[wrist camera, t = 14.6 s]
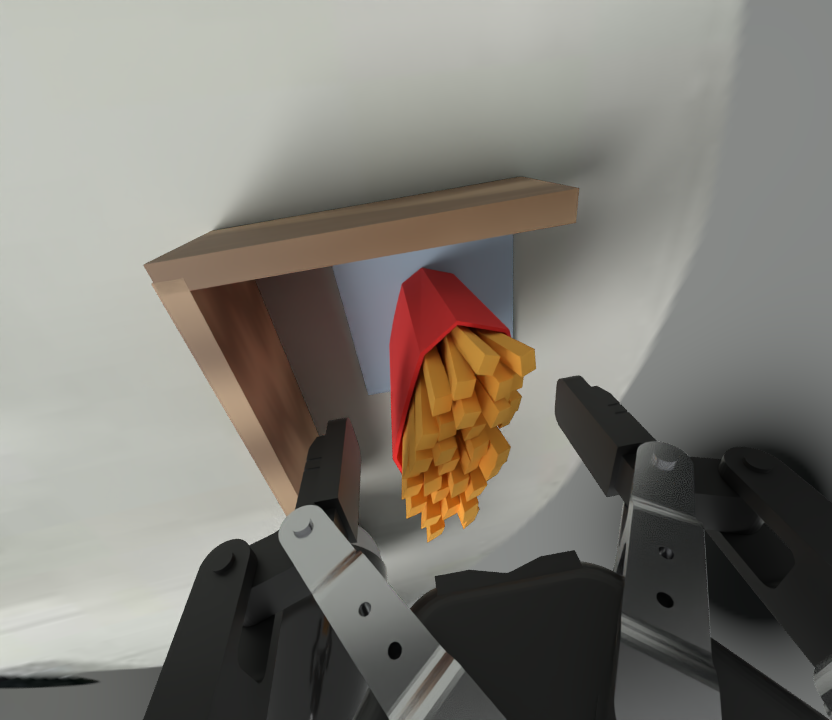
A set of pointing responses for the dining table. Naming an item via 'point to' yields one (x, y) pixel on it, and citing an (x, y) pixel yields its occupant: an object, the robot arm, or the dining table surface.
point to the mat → (382, 278)
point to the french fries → (450, 396)
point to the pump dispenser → (317, 660)
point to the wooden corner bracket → (304, 250)
